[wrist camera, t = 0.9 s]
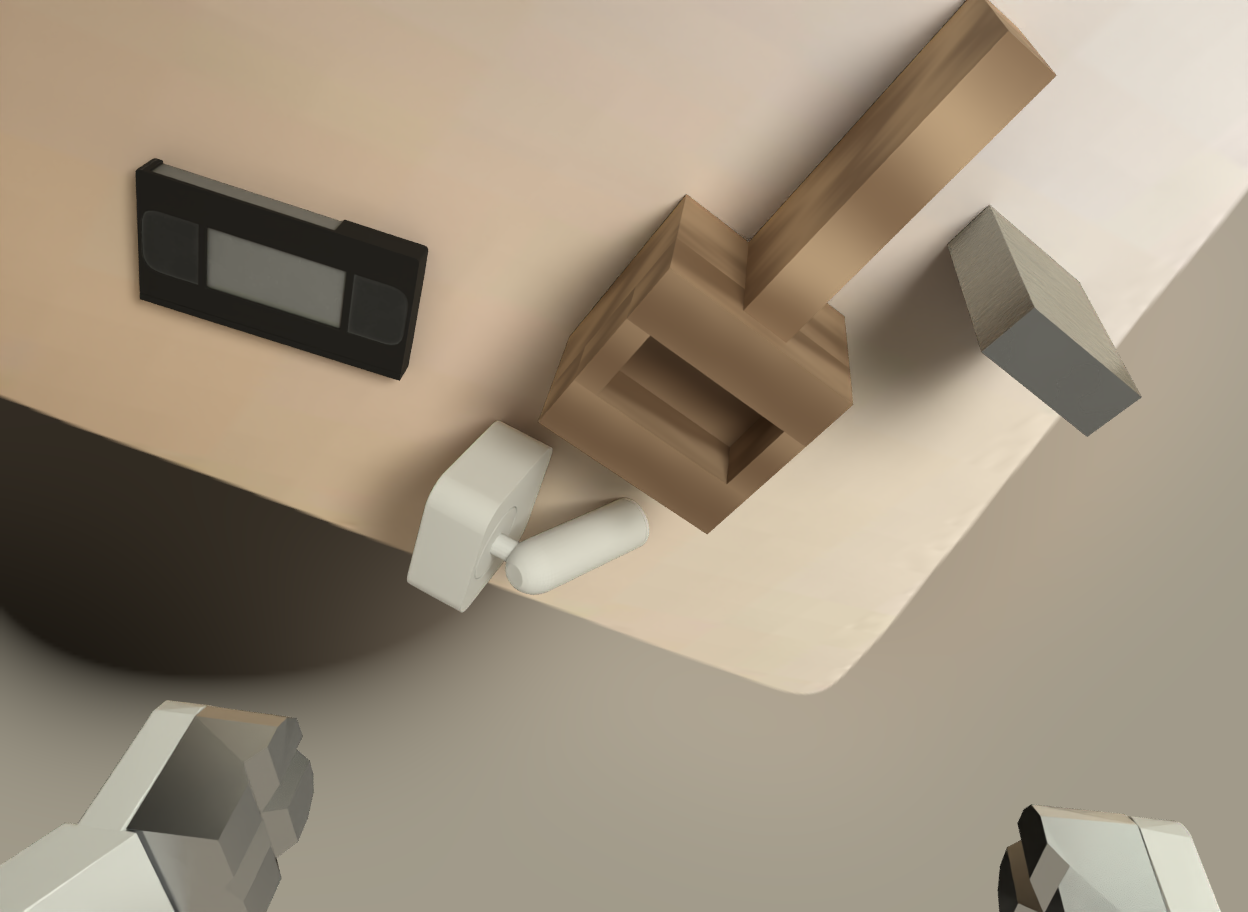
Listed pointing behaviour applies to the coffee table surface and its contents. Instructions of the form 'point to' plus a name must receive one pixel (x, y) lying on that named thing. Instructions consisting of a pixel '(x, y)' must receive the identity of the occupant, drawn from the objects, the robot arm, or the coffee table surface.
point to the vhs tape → (277, 270)
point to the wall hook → (510, 525)
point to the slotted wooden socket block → (775, 289)
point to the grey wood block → (1039, 323)
